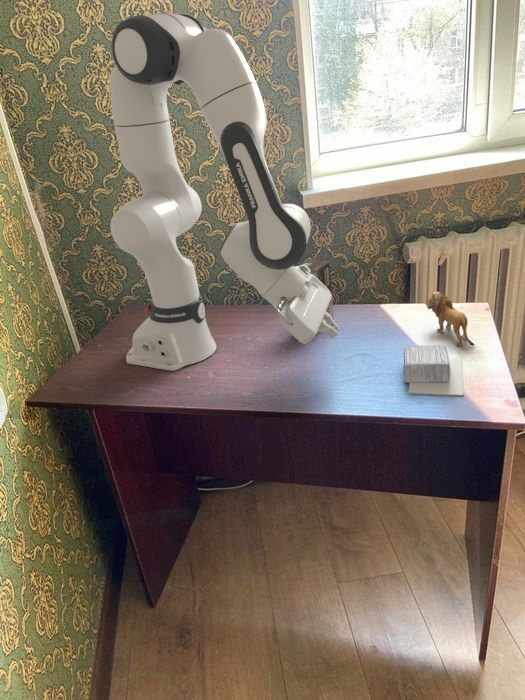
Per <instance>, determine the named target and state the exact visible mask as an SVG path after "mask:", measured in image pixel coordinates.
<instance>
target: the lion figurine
mask: <svg viewBox="0 0 525 700" xmlns="http://www.w3.org/2000/svg"><path fill="white" fill-rule="evenodd" d="M424 304H425V306H426V308H427V310H431V311H432V312H433V313H434V314H435V317H437V318H438V324H439V328H438V329H437V330H436V331H437V332H436V333H444V330H445V329H446V328H447V330H450V329H451V328H452V329H453V332H454V335H455V336H456V338H457V342H456V346H457V347H462V346H463V340H466V341H467V343H468V344H469V345H470V346H473V347H474V346H475V343H474V342H472V340H470V339H469V337H468V333H467V329H468V328H467V327H468V323H469V322H468V318H467V316H466V314H465V312H461V311H459V310H457V309H456V308H455V307H454V306H453V303H452V301H451V299H450V298H449V297H448V296H447V295H446V294H444V293H443V292H441V291H434V292H431V296H430V297H429V299H428V300H426V302H424ZM444 322H446V325H445V327H446V328H445V327H444ZM461 328H462V331H463V332H462V335H461V332H460V329H461Z"/></svg>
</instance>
